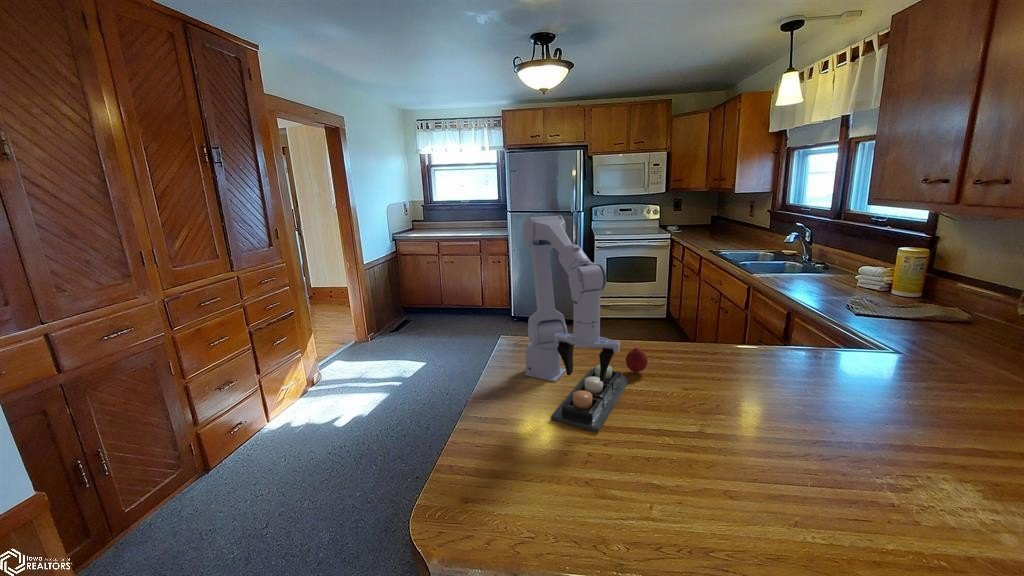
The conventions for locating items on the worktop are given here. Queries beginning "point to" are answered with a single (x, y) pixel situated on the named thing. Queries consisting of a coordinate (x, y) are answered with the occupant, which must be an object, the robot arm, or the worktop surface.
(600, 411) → the tray
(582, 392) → the button terracotta
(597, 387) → the button cream
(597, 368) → the button sage
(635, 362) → the onion
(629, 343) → the worktop surface
